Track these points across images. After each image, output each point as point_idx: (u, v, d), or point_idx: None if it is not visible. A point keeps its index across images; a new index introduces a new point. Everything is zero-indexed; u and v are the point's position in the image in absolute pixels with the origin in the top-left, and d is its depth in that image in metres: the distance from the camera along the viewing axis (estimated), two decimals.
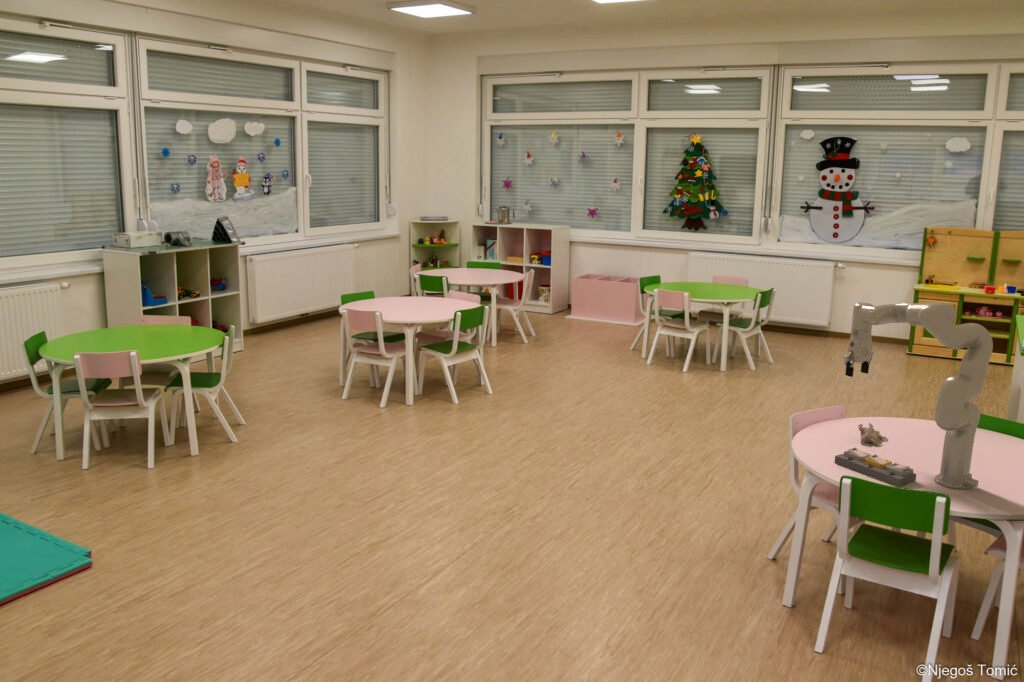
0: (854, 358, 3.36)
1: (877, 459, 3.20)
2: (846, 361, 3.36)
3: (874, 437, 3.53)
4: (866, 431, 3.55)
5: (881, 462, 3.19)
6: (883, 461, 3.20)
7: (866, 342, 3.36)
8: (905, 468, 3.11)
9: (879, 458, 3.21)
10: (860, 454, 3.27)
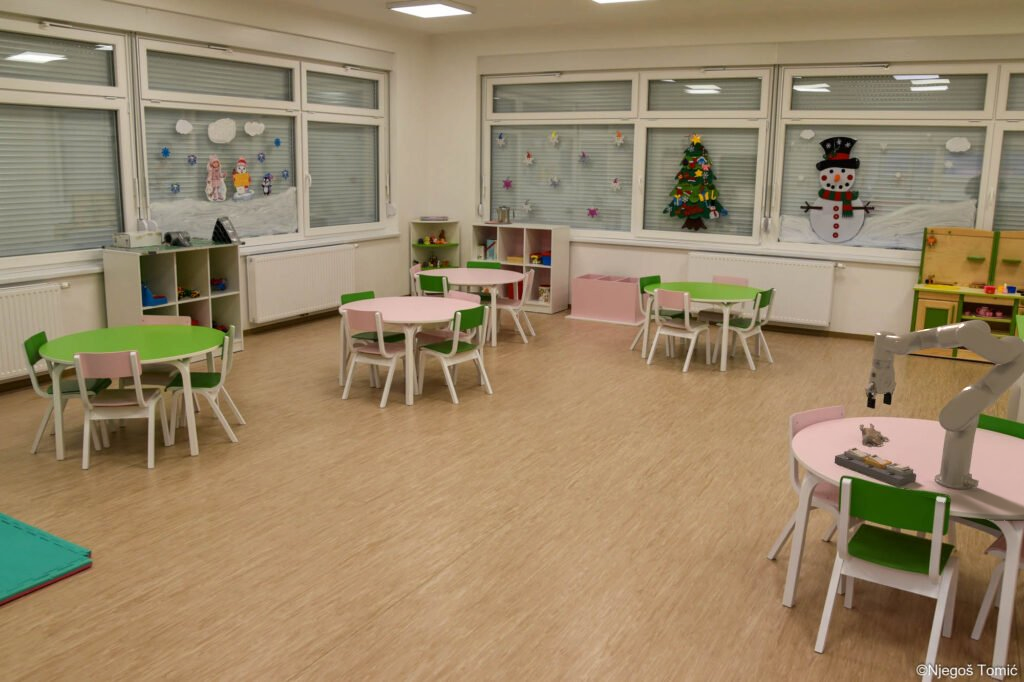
0: (876, 389, 3.22)
1: (877, 459, 3.20)
2: (867, 393, 3.22)
3: (875, 437, 3.53)
4: (867, 431, 3.54)
5: (881, 462, 3.19)
6: (883, 461, 3.20)
7: (888, 372, 3.22)
8: (905, 468, 3.11)
9: (879, 458, 3.21)
10: (860, 454, 3.27)
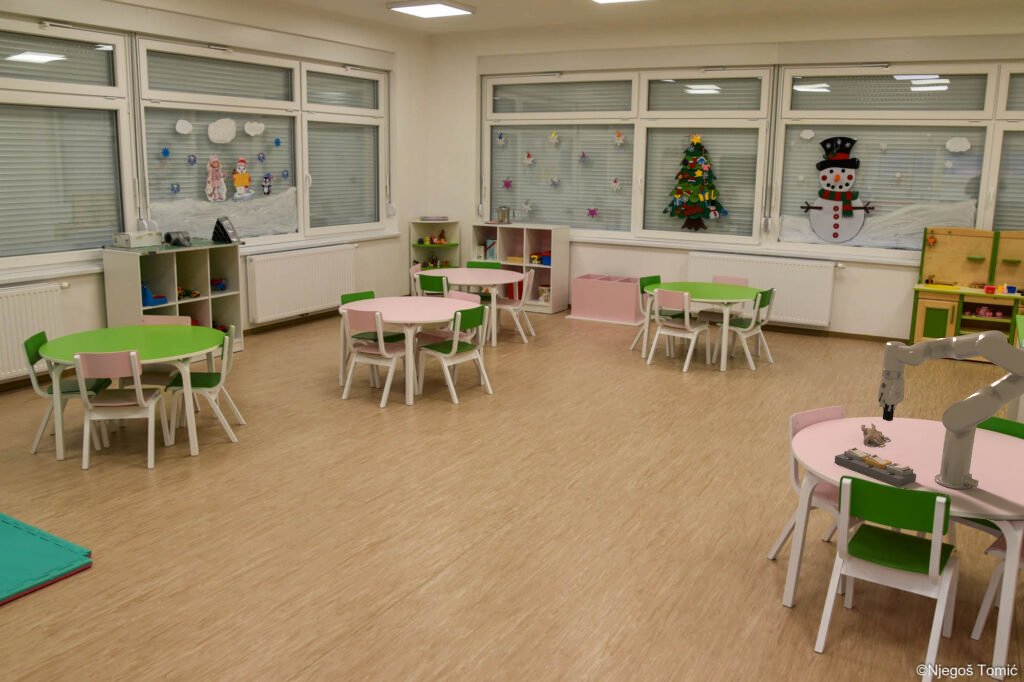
0: (886, 400, 3.17)
1: (877, 459, 3.20)
2: (884, 407, 3.19)
3: (877, 437, 3.53)
4: (869, 431, 3.54)
5: (881, 462, 3.19)
6: (883, 461, 3.20)
7: (898, 383, 3.17)
8: (905, 468, 3.11)
9: (879, 458, 3.21)
10: (860, 454, 3.27)
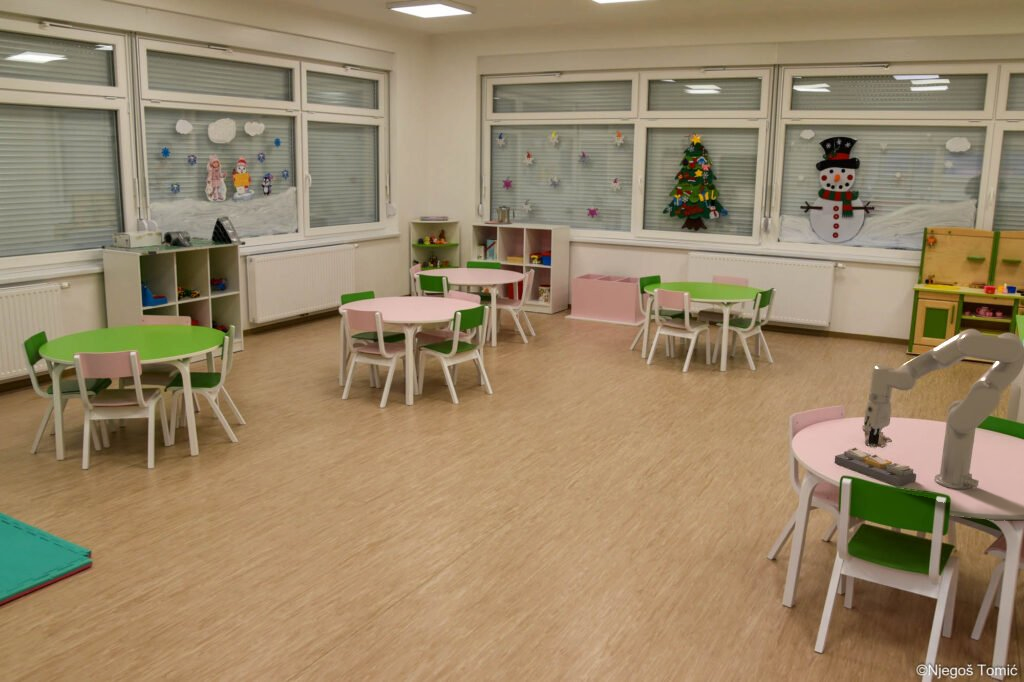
0: (872, 424, 3.15)
1: (877, 459, 3.20)
2: (869, 431, 3.18)
3: None
4: None
5: (881, 462, 3.19)
6: (883, 461, 3.20)
7: (885, 407, 3.16)
8: (905, 468, 3.11)
9: (879, 458, 3.21)
10: (860, 454, 3.27)
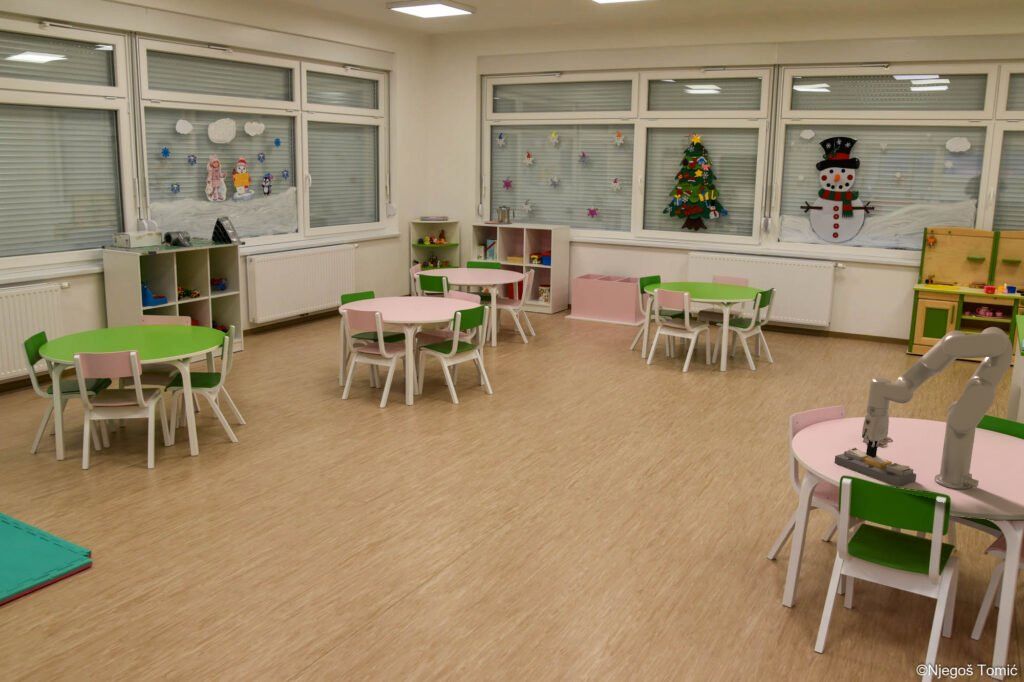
0: (869, 437, 3.17)
1: (877, 459, 3.21)
2: (867, 443, 3.20)
3: None
4: None
5: (881, 462, 3.19)
6: (883, 461, 3.20)
7: (882, 420, 3.17)
8: (905, 468, 3.11)
9: (879, 458, 3.21)
10: (860, 454, 3.27)
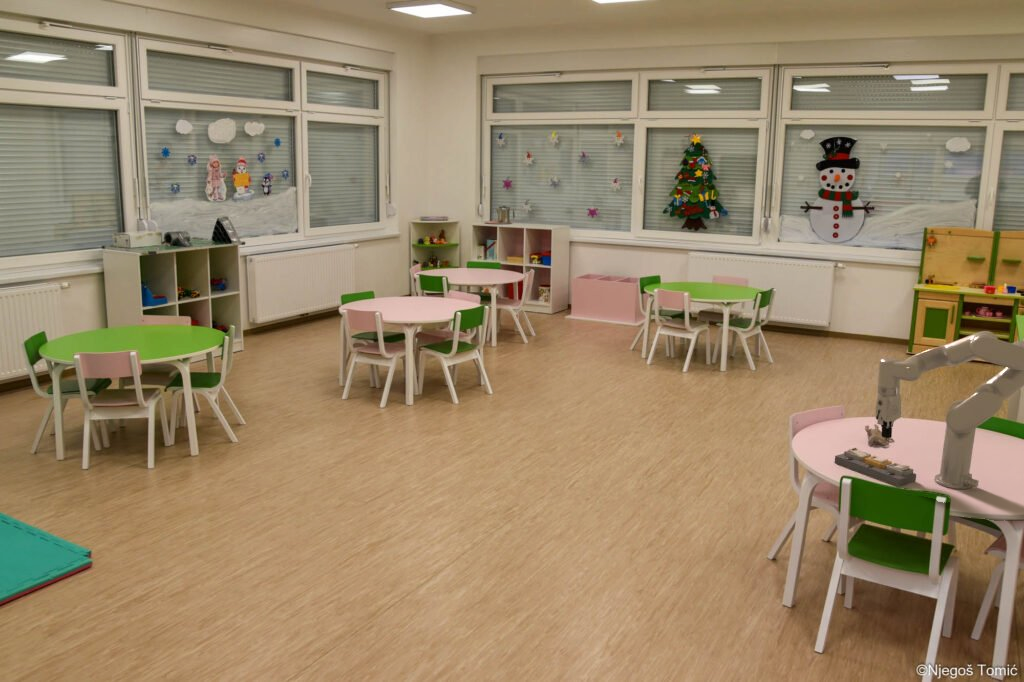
0: (883, 418, 3.15)
1: (877, 459, 3.21)
2: (882, 424, 3.17)
3: (881, 438, 3.52)
4: (873, 432, 3.53)
5: (881, 460, 3.19)
6: (883, 459, 3.20)
7: (895, 399, 3.15)
8: (905, 468, 3.11)
9: (879, 458, 3.22)
10: (860, 454, 3.27)
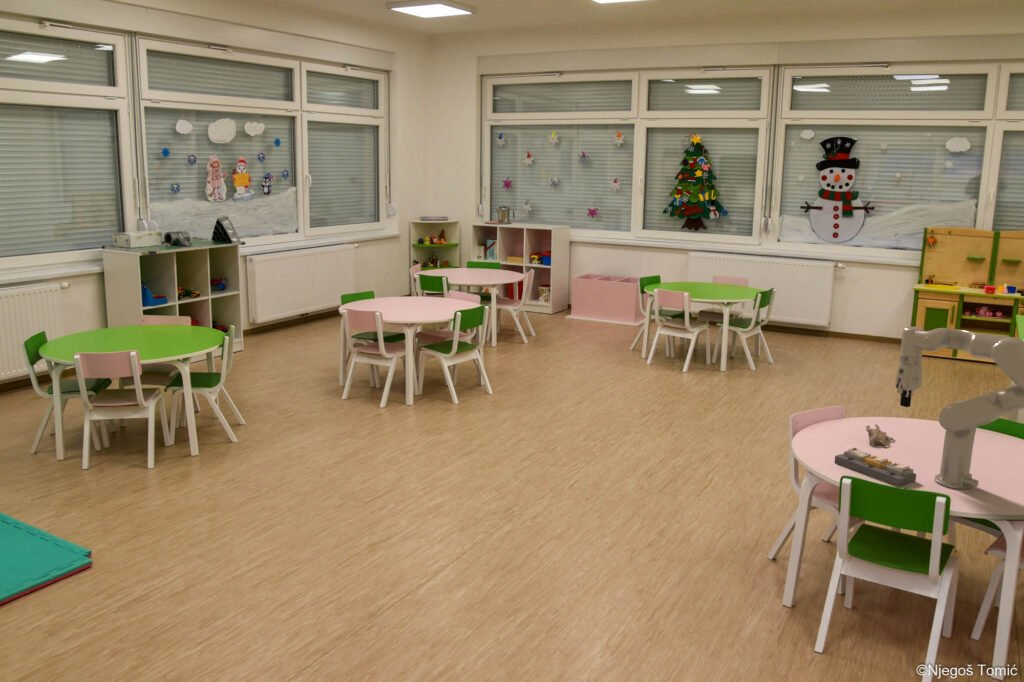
0: (903, 386, 3.14)
1: (876, 459, 3.21)
2: (901, 393, 3.17)
3: (882, 438, 3.52)
4: (874, 432, 3.53)
5: (881, 459, 3.19)
6: (883, 459, 3.20)
7: (916, 369, 3.14)
8: (905, 468, 3.11)
9: (878, 458, 3.22)
10: (860, 454, 3.27)
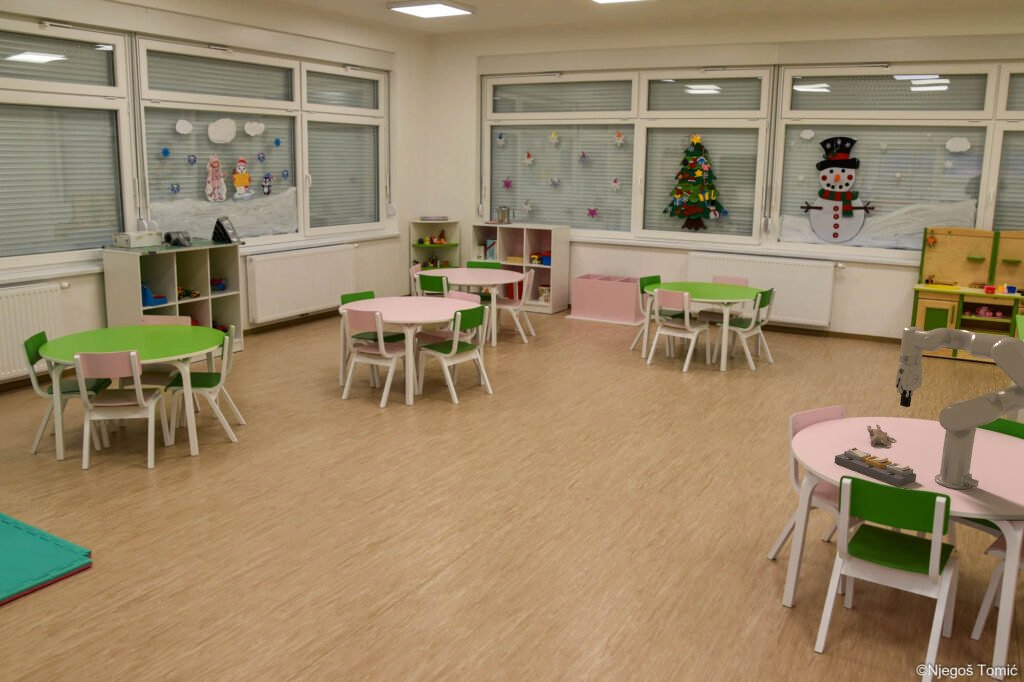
0: (903, 386, 3.14)
1: (876, 459, 3.21)
2: (901, 393, 3.17)
3: (883, 438, 3.52)
4: (875, 432, 3.53)
5: (881, 459, 3.19)
6: (883, 458, 3.20)
7: (916, 369, 3.14)
8: (905, 468, 3.11)
9: (878, 458, 3.22)
10: (860, 454, 3.27)
